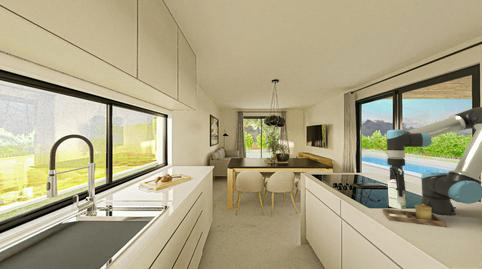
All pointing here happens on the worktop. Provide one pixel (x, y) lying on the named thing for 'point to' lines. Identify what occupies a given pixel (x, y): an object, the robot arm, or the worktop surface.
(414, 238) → the worktop surface
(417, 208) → the honey pot
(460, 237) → the worktop surface
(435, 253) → the worktop surface
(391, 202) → the syrup box
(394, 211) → the caddy
